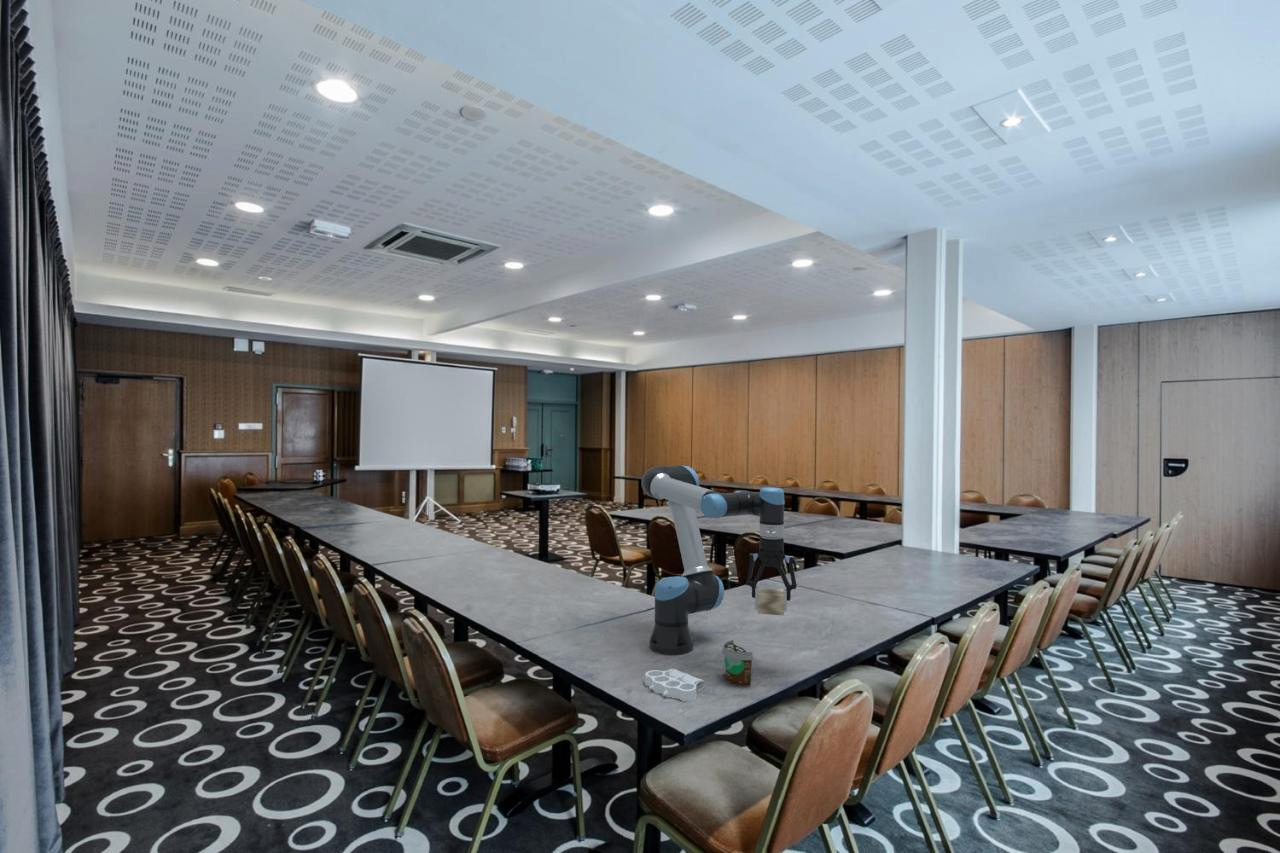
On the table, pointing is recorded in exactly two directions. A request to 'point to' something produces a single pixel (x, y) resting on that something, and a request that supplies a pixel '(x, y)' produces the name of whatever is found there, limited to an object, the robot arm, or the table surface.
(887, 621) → the table surface
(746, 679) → the food container
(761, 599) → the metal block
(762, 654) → the table surface
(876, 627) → the table surface
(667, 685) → the white brass knuckles
